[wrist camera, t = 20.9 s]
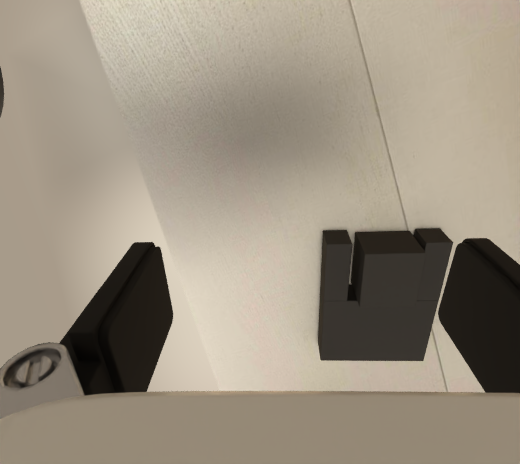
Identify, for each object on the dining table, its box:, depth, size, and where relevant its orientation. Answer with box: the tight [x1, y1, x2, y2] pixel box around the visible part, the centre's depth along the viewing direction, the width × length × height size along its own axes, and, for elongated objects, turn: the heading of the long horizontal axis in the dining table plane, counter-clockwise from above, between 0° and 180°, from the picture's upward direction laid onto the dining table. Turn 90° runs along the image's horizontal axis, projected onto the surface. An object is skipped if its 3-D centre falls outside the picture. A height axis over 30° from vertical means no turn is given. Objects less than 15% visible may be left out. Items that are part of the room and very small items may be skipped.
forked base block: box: [318, 229, 453, 361], centre depth 37 cm, size 12×16×3 cm
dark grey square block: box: [351, 231, 426, 307], centre depth 35 cm, size 6×6×4 cm
